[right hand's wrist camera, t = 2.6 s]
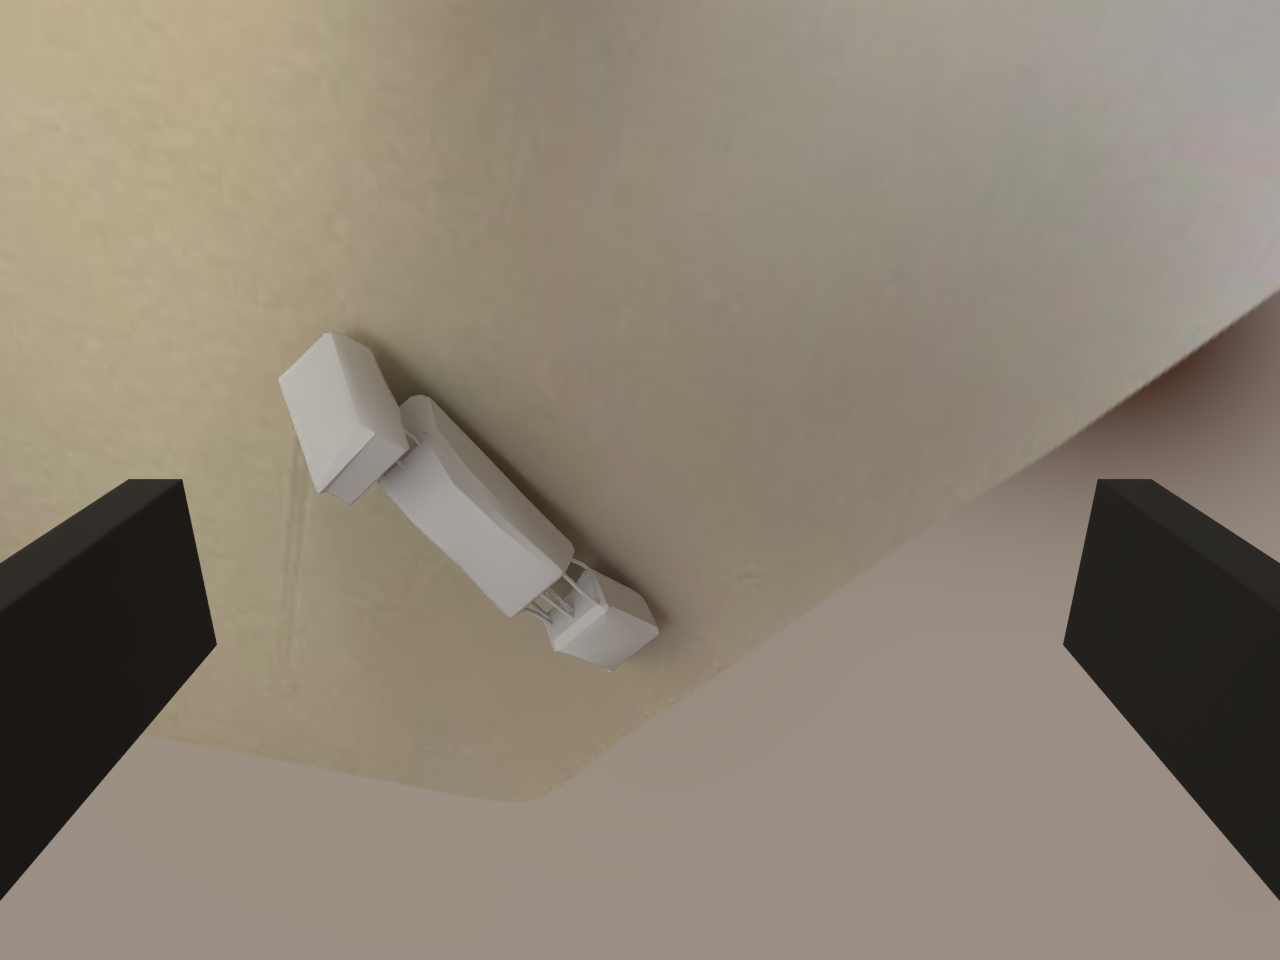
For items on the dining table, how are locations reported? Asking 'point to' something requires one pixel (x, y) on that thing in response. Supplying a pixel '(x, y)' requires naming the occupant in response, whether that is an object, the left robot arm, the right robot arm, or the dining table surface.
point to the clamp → (453, 499)
